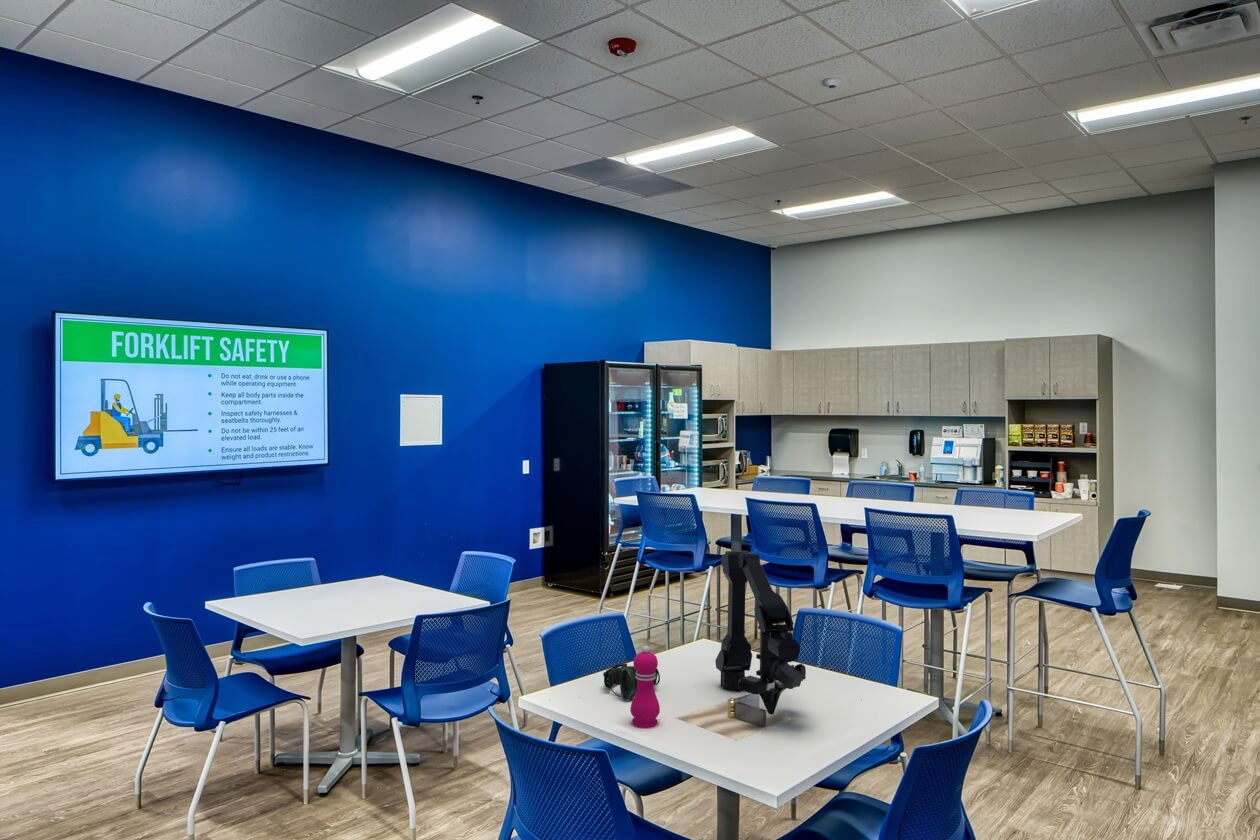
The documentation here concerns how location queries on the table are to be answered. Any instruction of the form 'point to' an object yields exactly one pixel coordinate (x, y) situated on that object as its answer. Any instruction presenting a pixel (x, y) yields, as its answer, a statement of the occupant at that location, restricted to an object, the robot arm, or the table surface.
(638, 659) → the pepper mill
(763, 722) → the swing leaf
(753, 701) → the fixed leaf
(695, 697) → the table surface
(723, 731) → the board
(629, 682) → the headphones
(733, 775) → the table surface
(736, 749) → the table surface
